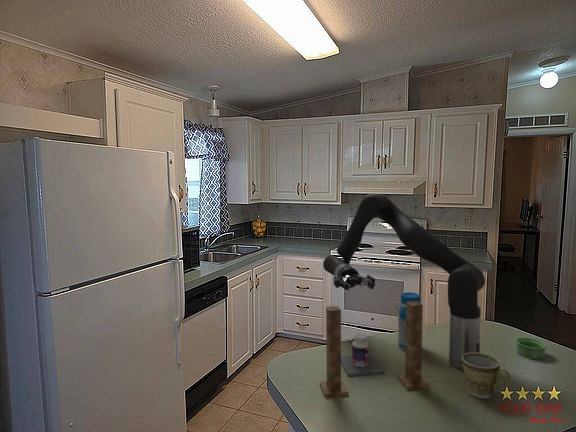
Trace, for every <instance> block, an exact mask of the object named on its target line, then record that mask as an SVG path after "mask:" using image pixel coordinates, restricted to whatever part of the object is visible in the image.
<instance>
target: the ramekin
mask: <svg viewBox="0 0 576 432" xmlns="http://www.w3.org/2000/svg"><path fill="white" fill-rule="evenodd" d="M515 342H516V343H515V344H516V352H517V354H518V355H519V356H521V357H523V356H524V357H523V358H526V359H530V360H541V358H542V359H543V358H544V357H545V351H546V348H547V344H545V342H543V341H542V340H539V339H535V338H532V337H518V338H517V339H516V340H515Z"/></svg>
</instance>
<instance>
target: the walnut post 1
mask: <svg viewBox="0 0 576 432" xmlns="http://www.w3.org/2000/svg"><path fill="white" fill-rule="evenodd" d="M325 308H326V314H325V315H326V317H325V318H326V322H325V323H326V324H325V325H326V326H325V327H326V336H325V337H326V380H320V381H319V386H320V389H321V391H322V393H323V396H324V398H325V399H327V398H336V397H348V396H349V392H350V391H349V390H348V388H347V386H346V384H345V382H344V380H343V379H342V365H341V357H342V310H341V308H340V307H339V306H338V305H331V306H330V305H329V306H326V307H325Z"/></svg>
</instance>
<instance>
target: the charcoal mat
mask: <svg viewBox="0 0 576 432" xmlns="http://www.w3.org/2000/svg"><path fill="white" fill-rule="evenodd" d="M341 367H342V368H343V369H344V371H345V373H346V376H347V377H358V376H371V375H381V374H382V375H383V374H385V370H384V368H382V366H381V365H380V363H379V362H378V361H377V359H375V357H374V356H373V355H372V354H368V365H367V366H365V367H357V366H355V365H353V363H352V355H350V356H349V355H348V356H341Z"/></svg>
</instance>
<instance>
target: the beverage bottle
mask: <svg viewBox="0 0 576 432" xmlns="http://www.w3.org/2000/svg"><path fill="white" fill-rule="evenodd" d="M412 301H418V302H419V303H421V295H420V294H419V293H415V292H403V293H402V292H401V294H400V303H401V306H400V307H399V310H398V314H399V315H398V318H397V319H398V320H397V321H398V343H397V345H398V347H399V348H400V349H401V350H403V351H405V352H406V302H412Z"/></svg>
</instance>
